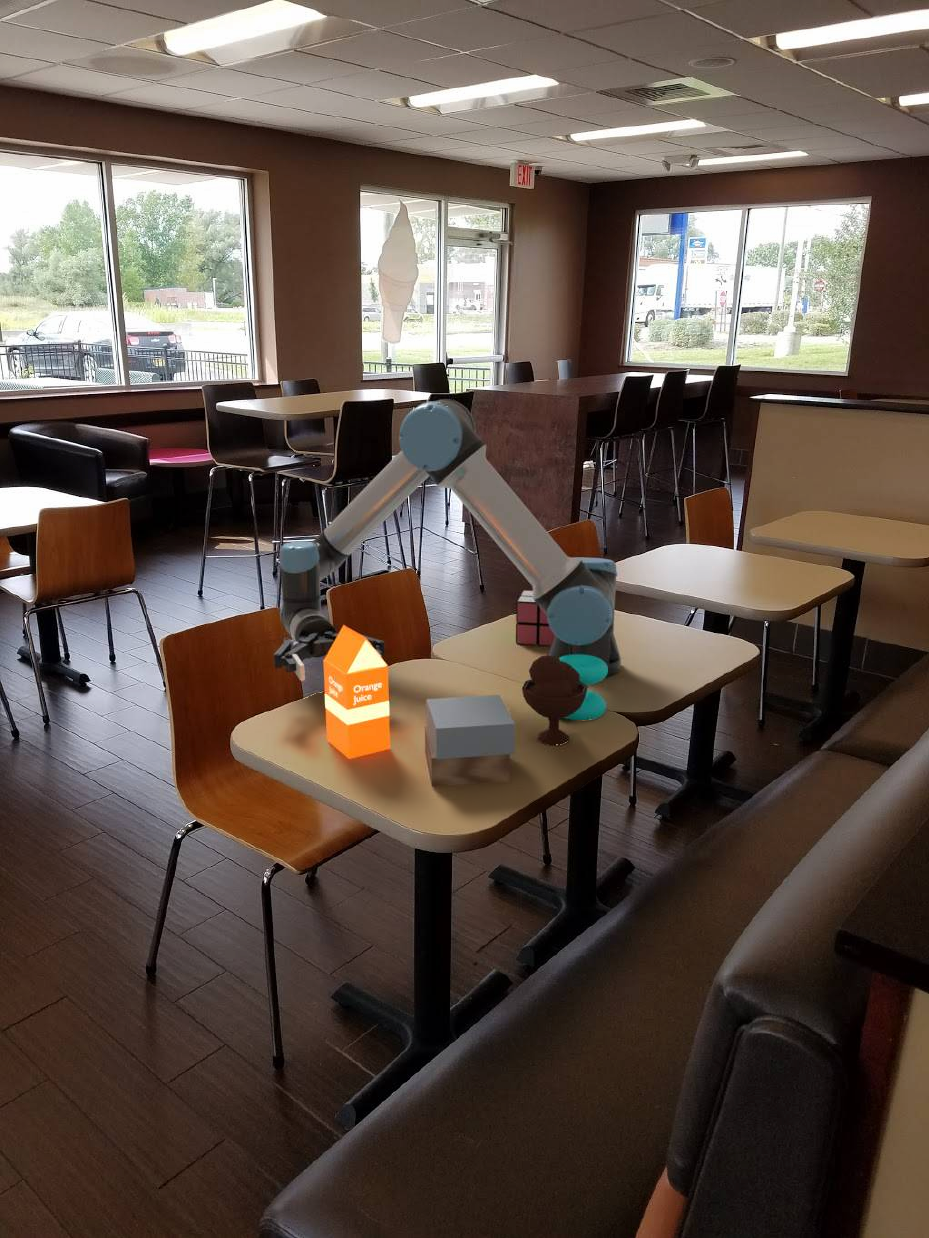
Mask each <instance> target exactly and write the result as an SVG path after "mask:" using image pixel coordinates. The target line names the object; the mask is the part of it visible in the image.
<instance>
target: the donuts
mask: <svg viewBox="0 0 929 1238" xmlns="http://www.w3.org/2000/svg"><path fill="white" fill-rule="evenodd" d="M559 659H560V661H563V662H566V663H568V664H569V665H571V666H572V667H573V668H574V669H575V670H576V671H577V672H578V673H579V676H580V681H581V682H582V683H584V684H585V685H587V686H591V685H594V684H597V683H600V682H602V681H603V680H604V679H605V678H607V677H606V675H607V673H608V667H607V665H606V663H605V662H604V661H603V660H601V659H599V658H597V657H594V656H590V655H583V654H573V655H566V656H562V657H560V658H559ZM606 711H607V703H606V700H605V699H604V697H602V696H601V695H600V694H599V693H597V692H595V691H592V690H588V689H587V692H586V696H585V699H584V702H583V703H582V705H581V707H580V708H579V709H578V710H577V711H576V712H575V713H573V714H571V715H569V716H567V717H564V718H566V719H565V720H568V719H571V720H570V721H573V720H589V719H593V720H595V719H594V718H596V719H599V718H600V717H602V716H603V715H604V714H605V712H606ZM598 717H599V718H598ZM564 718H563V719H564ZM589 721H590V720H589Z"/></svg>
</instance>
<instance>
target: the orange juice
mask: <svg viewBox="0 0 929 1238" xmlns="http://www.w3.org/2000/svg"><path fill="white" fill-rule="evenodd" d="M360 634H361V633H359V632H357V631H355V630H353V629H351V628H349V627H347V626H346V625H345V624H342V627H341V628H340V631H339V632H338V636H337V638H336V639H335V641H334V643H333V645H332V647H331V648H330V650H329V652H328V654H327V655H325V656H324V657H325V658H324V659H323V677H324V706H325V723H326V726H325V727H326V740H327V742H328V743H330V744H331V745H332V746H333V747H335V749H337V750H338V751H339V752H340V753H341V754H342V755H344V756H345V757H346V758H347V759H349V760H351V759H355V758H358V757H362V756H367V755H370V754H375V753H379V752H383V751H386V750H390V749H391V736H390V699H389V698H390V697H389V696H390V695H389V692H390V691H389V665H388V663H386V662H385V660H384V659H383V658H381V657H382V656H381V657H380V655H379V654H378V653H377V651H376V650H375V649H374V648H373V646H372V645H371V644H370V643H369V641H368V640H367V639H366V638H365V637H363V636H362V635H363V634H361V635H360Z"/></svg>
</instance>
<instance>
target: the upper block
mask: <svg viewBox="0 0 929 1238" xmlns="http://www.w3.org/2000/svg"><path fill="white" fill-rule="evenodd" d="M425 701H426V727H427V730H428V733H429V737H430V740H431V743H432V746H433V750H434V753H435V756H436V759H448V758H463V757H477V756H491V755H506V754H510V755H515V753H516V752H515V747H516V745H515V744H516V741H515V740H516V737H515V736H516V723H515V721H514V719H513V717H512V715H511V714H510V711H509V709H508V708H507V706H506V704H505V702H504V701H503V699H502V697H501V695H500V694H495V695H494V694H493V695H491V694H490V695H478V696H477V695H475V696H474V695H473V696H459V697H458V696H457V697H441V698H440V697H439V698H427V699H426V700H425Z"/></svg>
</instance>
